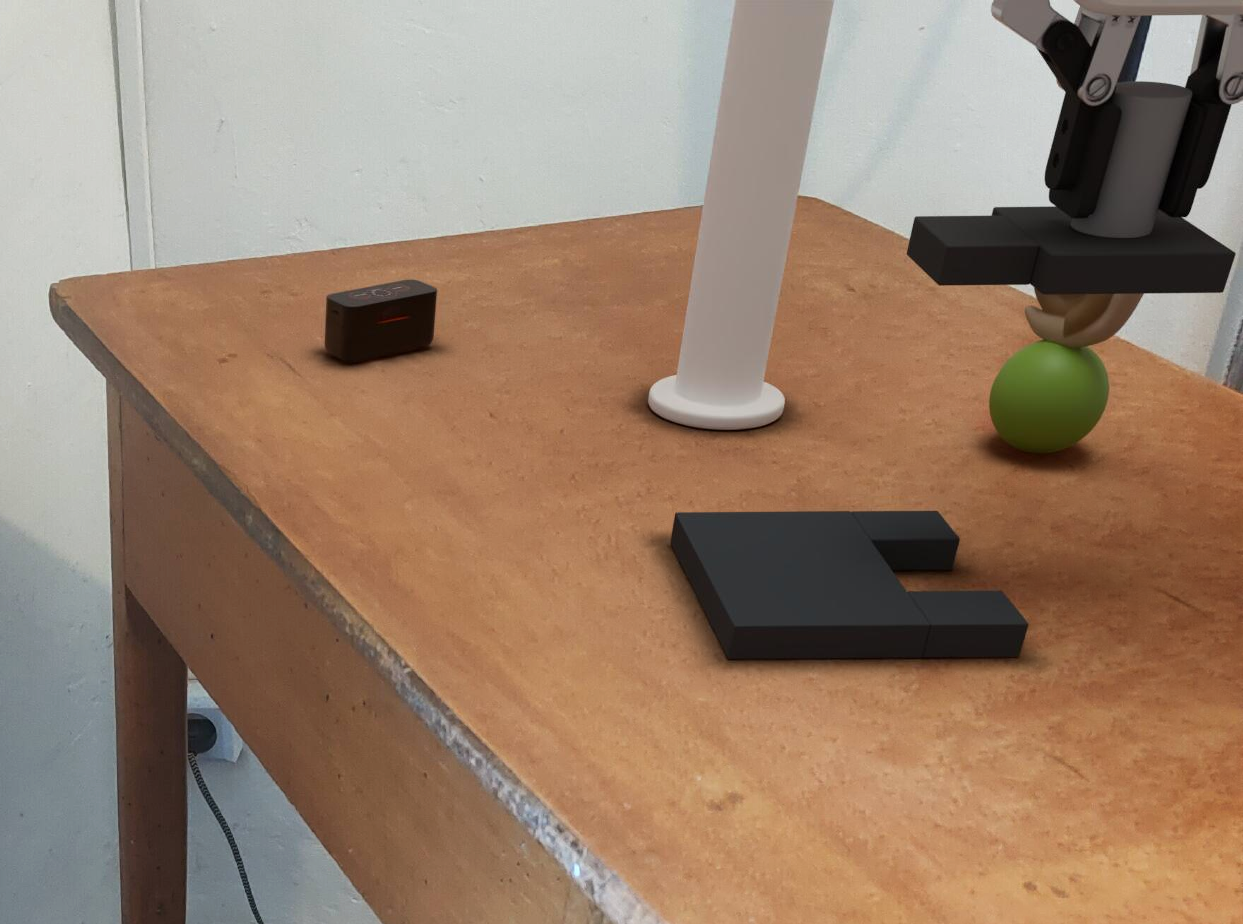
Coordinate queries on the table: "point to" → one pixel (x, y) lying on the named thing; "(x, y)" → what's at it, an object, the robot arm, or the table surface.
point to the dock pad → (837, 586)
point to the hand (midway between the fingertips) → (1117, 204)
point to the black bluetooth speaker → (380, 320)
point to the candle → (747, 217)
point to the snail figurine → (1058, 372)
